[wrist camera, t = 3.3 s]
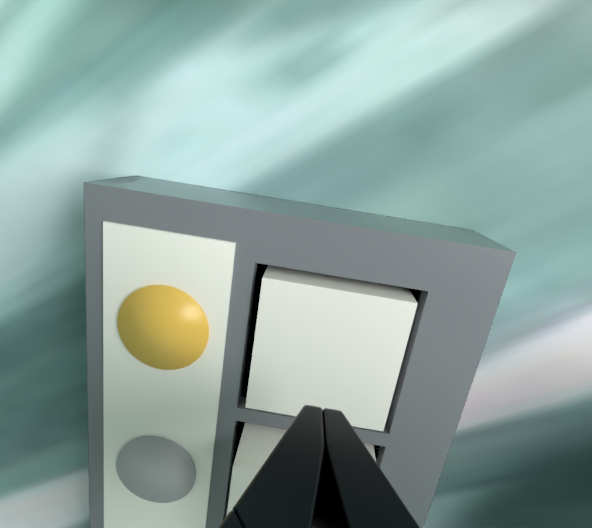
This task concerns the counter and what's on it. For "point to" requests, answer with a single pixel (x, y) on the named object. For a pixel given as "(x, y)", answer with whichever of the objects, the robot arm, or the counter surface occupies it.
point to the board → (235, 329)
